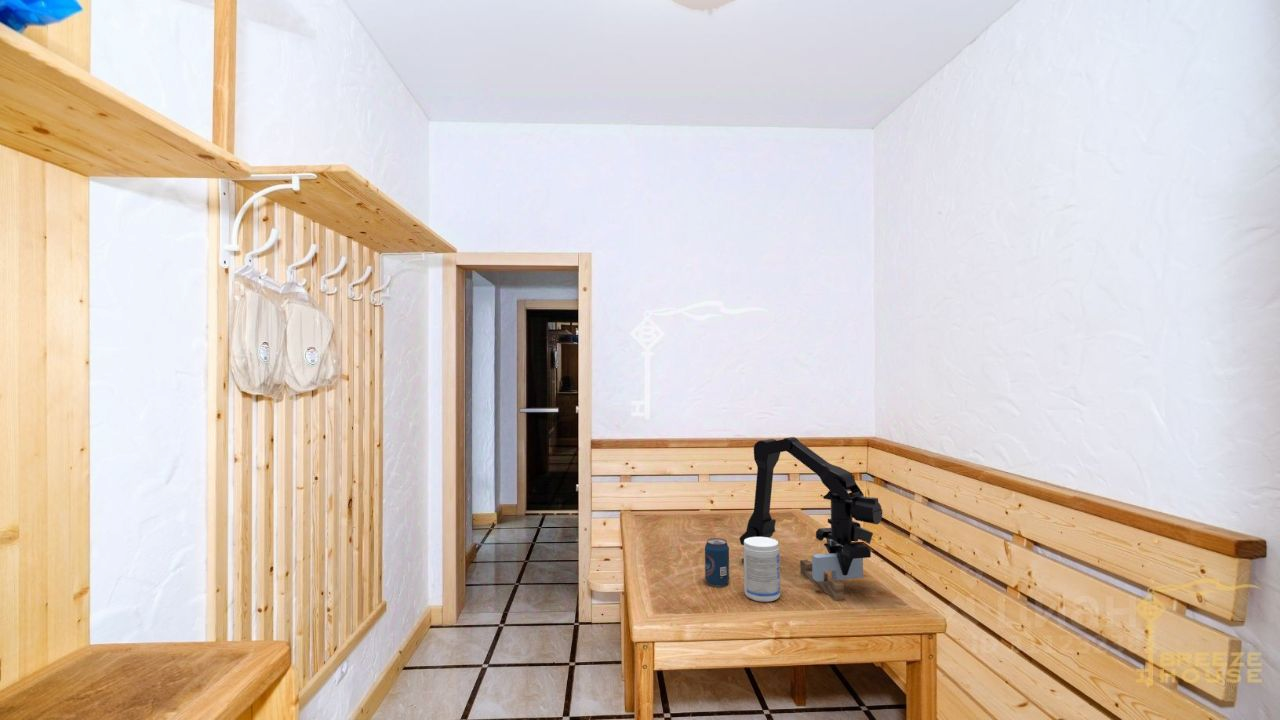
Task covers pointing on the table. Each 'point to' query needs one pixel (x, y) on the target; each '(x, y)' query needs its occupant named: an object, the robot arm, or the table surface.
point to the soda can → (717, 562)
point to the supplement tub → (761, 569)
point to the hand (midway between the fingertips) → (842, 573)
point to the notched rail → (827, 586)
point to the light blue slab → (834, 567)
